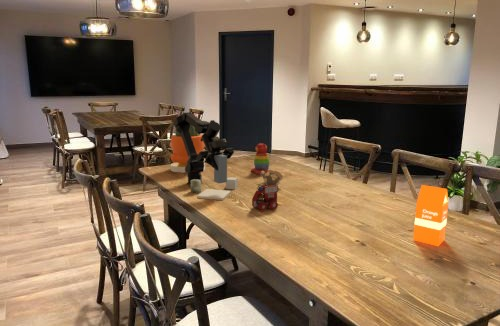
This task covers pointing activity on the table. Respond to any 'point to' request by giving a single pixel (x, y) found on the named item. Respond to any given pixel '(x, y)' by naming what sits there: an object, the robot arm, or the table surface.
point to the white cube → (231, 183)
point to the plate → (214, 194)
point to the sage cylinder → (195, 186)
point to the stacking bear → (261, 159)
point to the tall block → (220, 169)
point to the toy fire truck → (265, 198)
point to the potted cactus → (184, 149)
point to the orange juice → (431, 215)
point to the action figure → (271, 177)
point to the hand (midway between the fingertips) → (221, 169)
